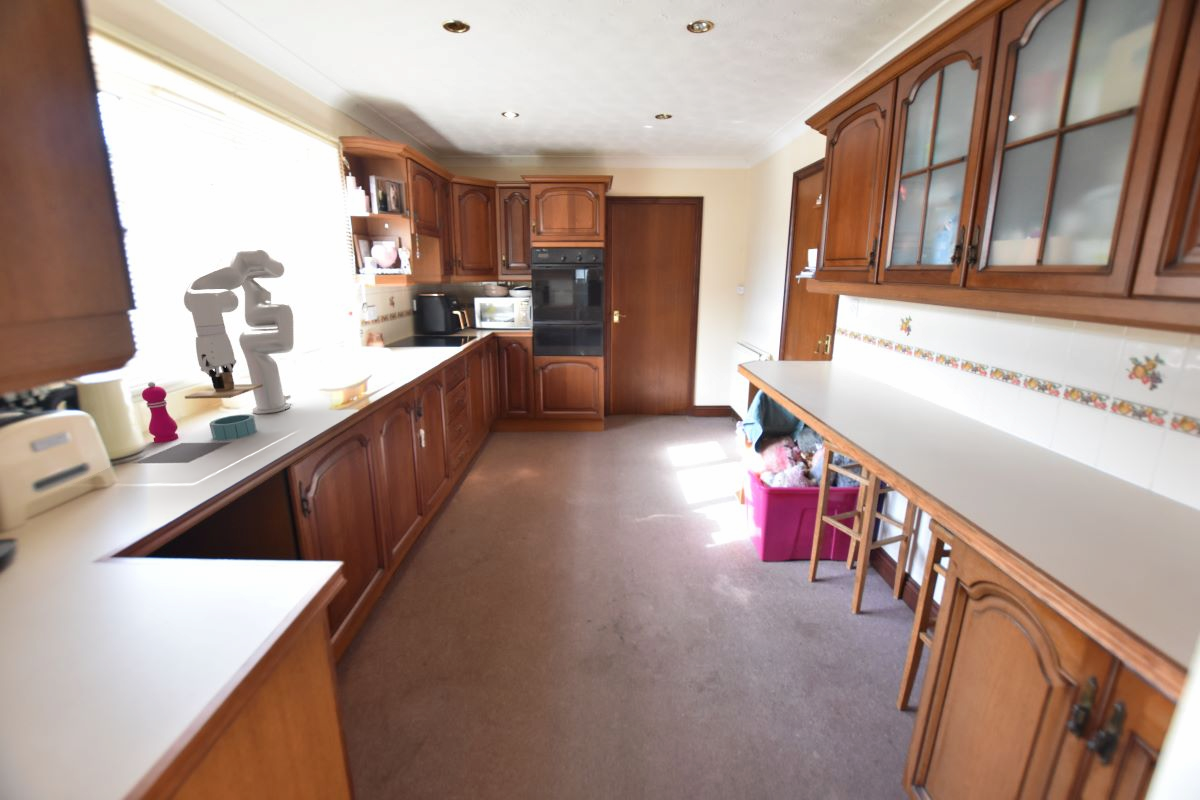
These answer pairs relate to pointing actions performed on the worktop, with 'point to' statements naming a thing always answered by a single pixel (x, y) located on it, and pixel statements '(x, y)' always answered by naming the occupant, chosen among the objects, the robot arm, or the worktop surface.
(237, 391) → the lid
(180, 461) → the mat
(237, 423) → the bowl
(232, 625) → the worktop surface
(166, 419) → the pepper mill
